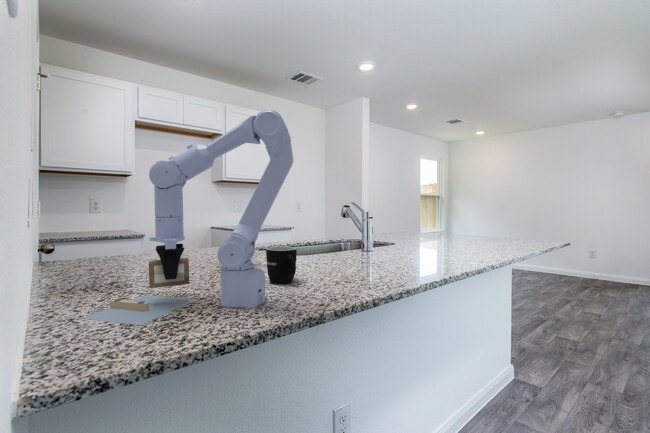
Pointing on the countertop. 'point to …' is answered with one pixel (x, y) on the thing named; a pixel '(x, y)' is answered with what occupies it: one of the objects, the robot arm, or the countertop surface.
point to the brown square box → (159, 279)
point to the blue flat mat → (139, 309)
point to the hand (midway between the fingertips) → (170, 277)
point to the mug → (281, 264)
